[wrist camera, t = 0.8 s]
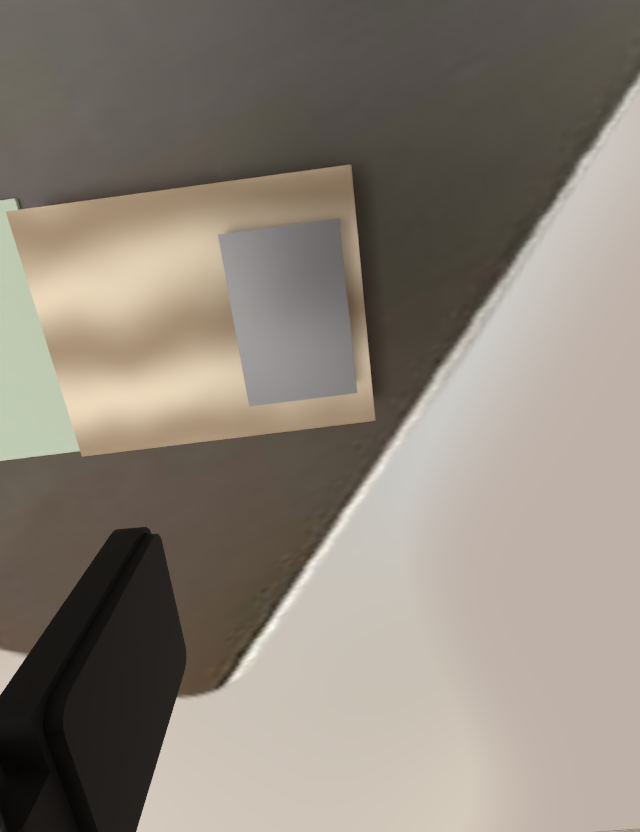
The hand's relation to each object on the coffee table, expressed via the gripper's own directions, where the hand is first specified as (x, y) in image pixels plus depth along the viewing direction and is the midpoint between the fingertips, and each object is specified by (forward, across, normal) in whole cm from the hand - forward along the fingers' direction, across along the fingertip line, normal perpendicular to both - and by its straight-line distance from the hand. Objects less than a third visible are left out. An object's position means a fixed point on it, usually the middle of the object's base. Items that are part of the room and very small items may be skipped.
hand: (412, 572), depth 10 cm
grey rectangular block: (+21, +3, -2) cm, 21 cm away
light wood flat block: (+25, +8, -2) cm, 26 cm away
